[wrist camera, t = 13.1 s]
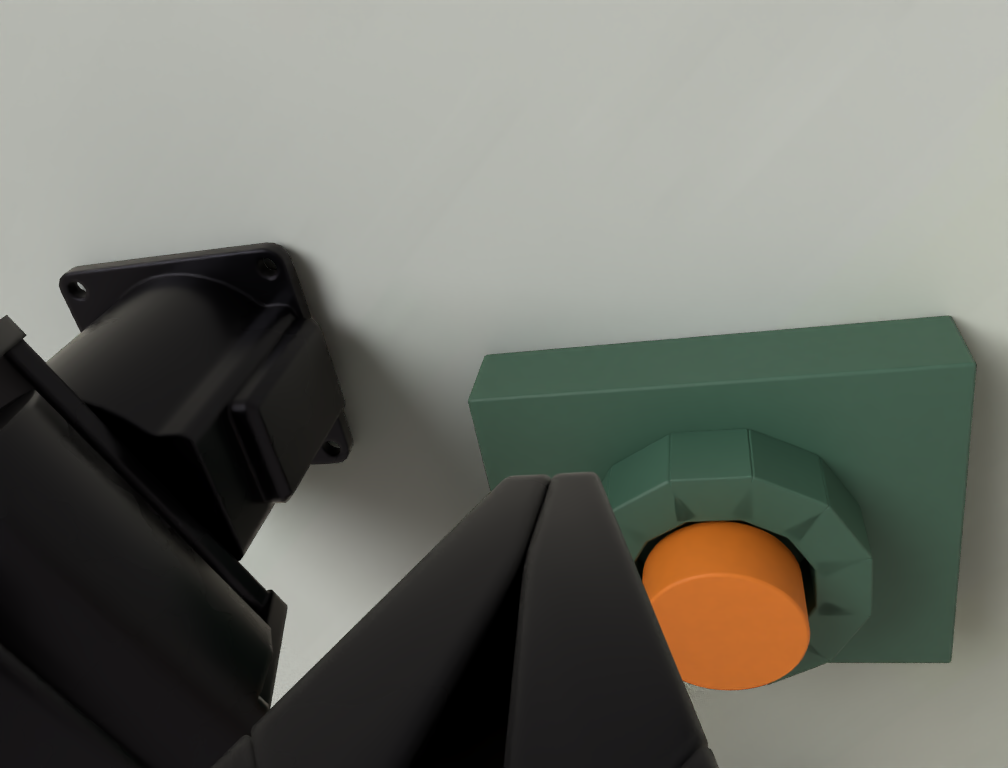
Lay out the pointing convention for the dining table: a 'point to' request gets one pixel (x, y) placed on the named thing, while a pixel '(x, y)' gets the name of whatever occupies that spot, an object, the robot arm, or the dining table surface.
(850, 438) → the tap control
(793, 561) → the button
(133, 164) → the dining table surface
